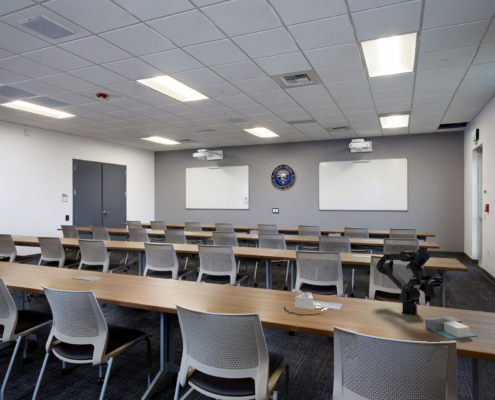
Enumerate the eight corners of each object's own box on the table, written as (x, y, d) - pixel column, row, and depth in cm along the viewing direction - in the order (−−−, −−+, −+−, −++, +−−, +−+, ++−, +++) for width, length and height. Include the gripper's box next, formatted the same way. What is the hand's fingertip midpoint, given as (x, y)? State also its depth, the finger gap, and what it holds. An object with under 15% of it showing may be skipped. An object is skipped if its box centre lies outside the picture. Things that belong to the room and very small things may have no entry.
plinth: (425, 327, 162) (425, 318, 162) (450, 324, 165) (450, 316, 165) (435, 332, 156) (435, 323, 156) (461, 329, 158) (461, 320, 158)
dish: (324, 317, 180) (323, 296, 181) (279, 312, 190) (278, 292, 190) (331, 304, 203) (330, 285, 204) (290, 301, 213) (290, 283, 213)
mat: (436, 332, 155) (436, 331, 155) (462, 329, 158) (462, 328, 158) (449, 339, 147) (449, 338, 147) (477, 336, 150) (477, 335, 150)
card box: (443, 322, 156) (457, 328, 148) (455, 321, 157) (469, 327, 149) (444, 331, 156) (458, 337, 148) (455, 329, 157) (469, 336, 149)
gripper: (408, 263, 169) (425, 290, 158) (441, 260, 173) (459, 287, 162) (399, 275, 177) (414, 302, 166) (430, 273, 180) (447, 299, 169)
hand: (434, 298), depth 165 cm, fingers closed
